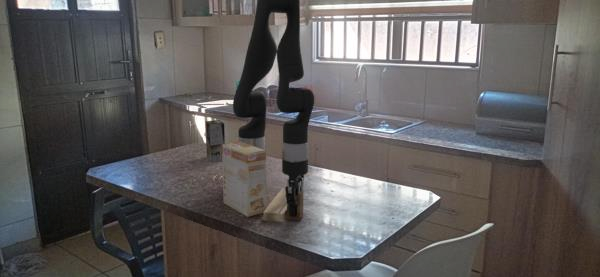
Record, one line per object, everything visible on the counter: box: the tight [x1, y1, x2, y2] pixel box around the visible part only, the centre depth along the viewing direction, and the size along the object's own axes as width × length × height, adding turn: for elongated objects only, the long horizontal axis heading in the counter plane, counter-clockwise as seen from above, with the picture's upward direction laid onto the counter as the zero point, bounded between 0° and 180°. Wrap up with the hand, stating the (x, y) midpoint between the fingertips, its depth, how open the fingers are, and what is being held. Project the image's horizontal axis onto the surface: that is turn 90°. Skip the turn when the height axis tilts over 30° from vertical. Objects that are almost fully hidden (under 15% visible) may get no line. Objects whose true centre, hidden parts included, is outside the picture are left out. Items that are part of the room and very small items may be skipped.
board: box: [262, 187, 287, 223], centre depth 150 cm, size 6×22×3 cm, turn 168°
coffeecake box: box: [221, 141, 267, 218], centre depth 148 cm, size 15×7×20 cm, turn 37°
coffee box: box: [205, 119, 226, 163], centre depth 203 cm, size 9×6×16 cm
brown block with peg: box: [285, 189, 304, 221], centre depth 141 cm, size 5×4×8 cm
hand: (294, 212), depth 142 cm, fingers closed on brown block with peg, 4 cm apart
